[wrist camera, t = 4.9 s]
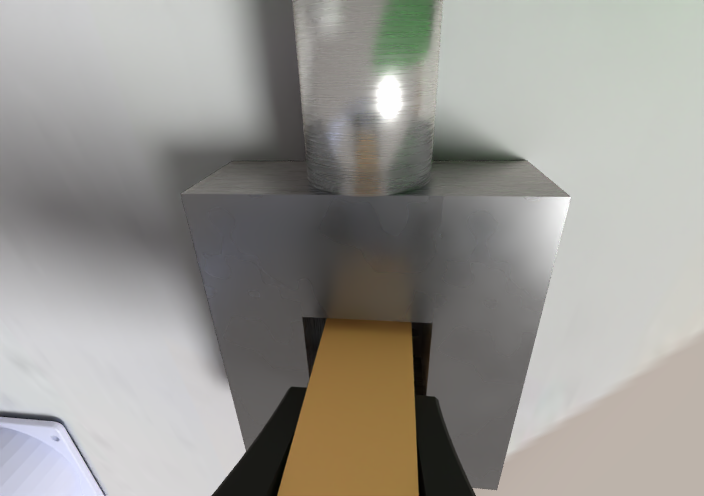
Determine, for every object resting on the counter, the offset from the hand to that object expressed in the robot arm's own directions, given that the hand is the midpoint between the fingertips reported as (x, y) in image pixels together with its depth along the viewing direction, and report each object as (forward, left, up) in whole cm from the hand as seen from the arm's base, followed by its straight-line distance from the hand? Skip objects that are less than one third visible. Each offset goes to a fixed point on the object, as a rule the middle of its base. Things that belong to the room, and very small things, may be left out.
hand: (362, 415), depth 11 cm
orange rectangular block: (0, 0, -3) cm, 3 cm away
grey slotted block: (+2, 0, -5) cm, 6 cm away
